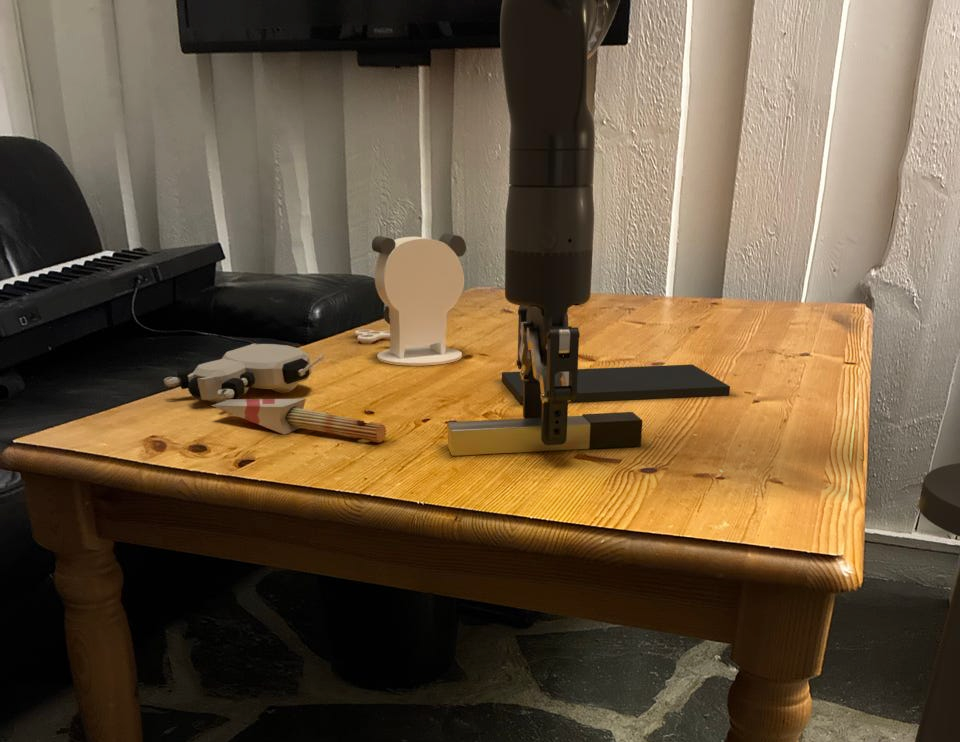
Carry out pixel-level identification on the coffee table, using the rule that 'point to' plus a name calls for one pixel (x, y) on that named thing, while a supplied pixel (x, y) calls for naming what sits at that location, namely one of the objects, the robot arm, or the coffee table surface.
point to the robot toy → (246, 372)
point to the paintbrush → (300, 418)
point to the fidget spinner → (371, 335)
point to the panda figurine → (419, 296)
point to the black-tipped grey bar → (527, 434)
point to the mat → (634, 383)
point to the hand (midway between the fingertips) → (543, 431)
